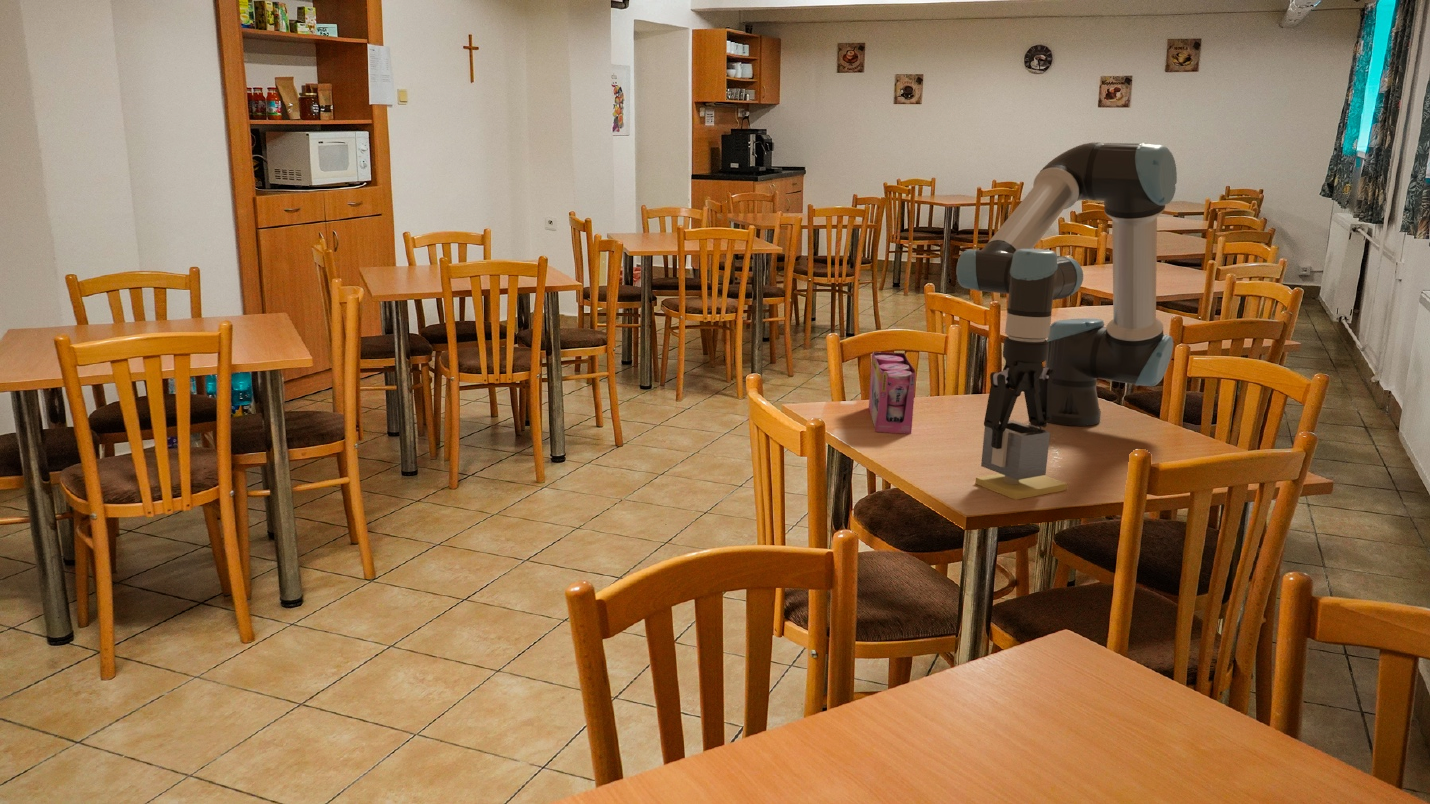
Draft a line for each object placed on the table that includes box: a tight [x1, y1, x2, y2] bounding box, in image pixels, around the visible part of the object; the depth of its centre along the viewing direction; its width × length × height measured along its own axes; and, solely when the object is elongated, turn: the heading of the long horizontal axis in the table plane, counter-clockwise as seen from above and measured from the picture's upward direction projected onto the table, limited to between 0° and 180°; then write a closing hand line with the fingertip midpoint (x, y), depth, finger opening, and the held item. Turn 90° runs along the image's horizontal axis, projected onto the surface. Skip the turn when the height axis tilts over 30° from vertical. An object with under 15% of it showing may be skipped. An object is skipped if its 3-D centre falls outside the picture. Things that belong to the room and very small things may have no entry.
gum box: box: [868, 351, 916, 435], centre depth 237 cm, size 24×8×14 cm, turn 176°
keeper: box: [974, 472, 1068, 501], centre depth 193 cm, size 13×10×7 cm
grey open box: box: [980, 419, 1051, 480], centre depth 191 cm, size 9×7×8 cm
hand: (1013, 462), depth 192 cm, fingers closed on grey open box, 7 cm apart
